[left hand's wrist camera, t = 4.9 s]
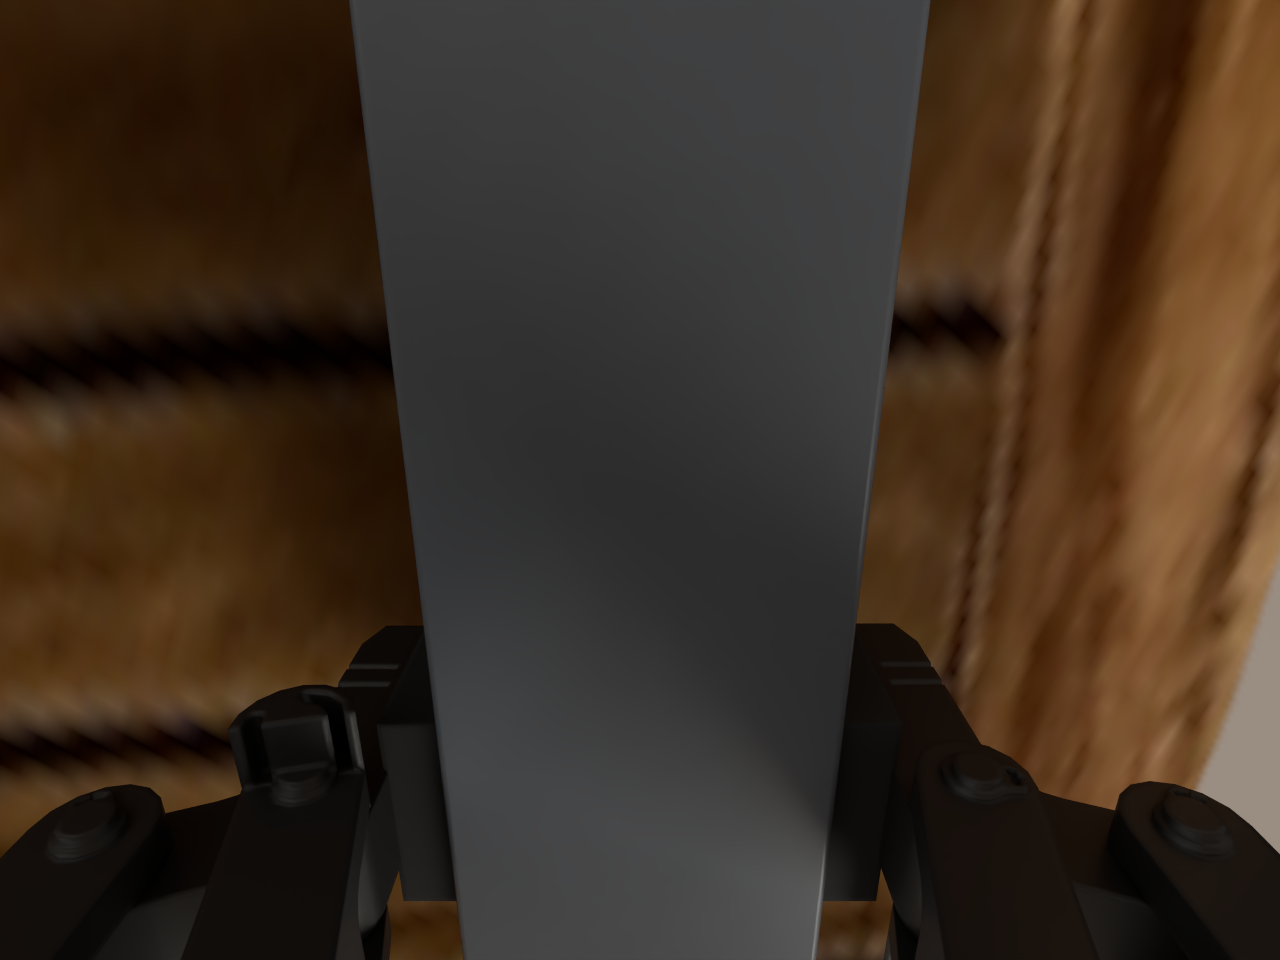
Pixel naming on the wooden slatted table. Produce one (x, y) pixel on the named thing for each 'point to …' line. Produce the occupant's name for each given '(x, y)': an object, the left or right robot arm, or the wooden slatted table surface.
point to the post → (639, 440)
